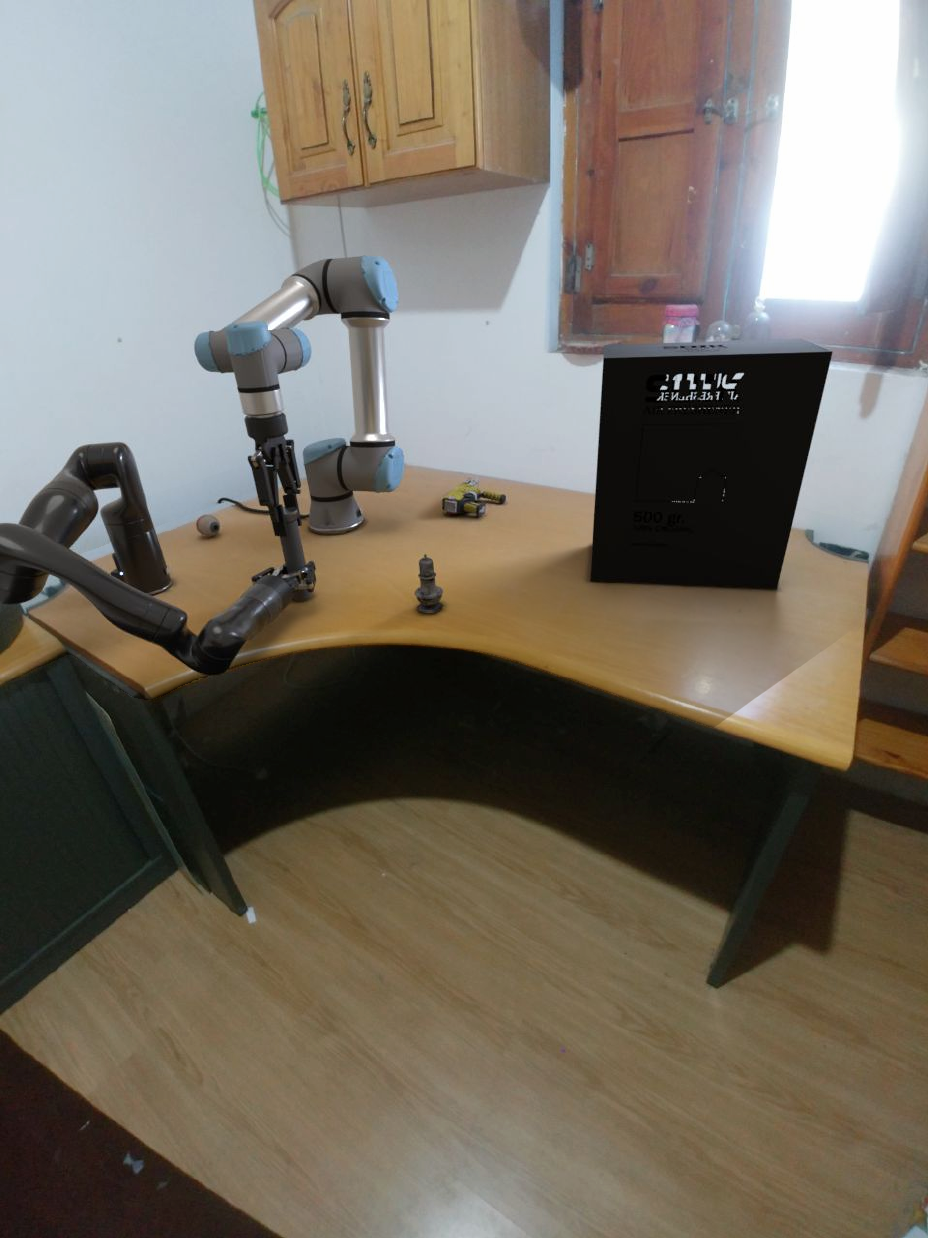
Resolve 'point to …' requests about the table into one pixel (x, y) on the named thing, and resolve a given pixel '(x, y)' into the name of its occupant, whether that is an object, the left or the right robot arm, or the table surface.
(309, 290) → the right robot arm
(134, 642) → the table surface
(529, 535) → the table surface
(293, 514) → the lid
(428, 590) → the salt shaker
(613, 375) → the cardboard box
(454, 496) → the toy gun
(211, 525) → the eyeball
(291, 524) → the dark grey cylinder
